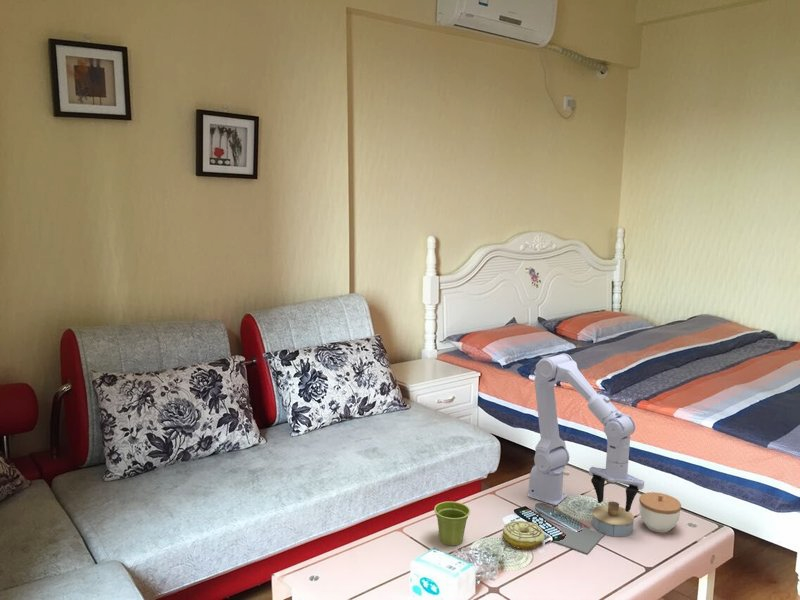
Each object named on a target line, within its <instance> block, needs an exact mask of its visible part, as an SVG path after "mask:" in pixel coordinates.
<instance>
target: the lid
mask: <svg viewBox="0 0 800 600" xmlns="http://www.w3.org/2000/svg"><path fill="white" fill-rule="evenodd" d="M591 511H592V513H591V514H592V517H593V516H594V517H595V518H596V519H597V520H599V521H601V522H603V523H606V524H610V525H617V526H623V525H628V524H631V523H632V522H633V523H634V521H635V515H634V514H633V512H632V511H631V510H629V512H626V511H625V507H621V506H620V503H619V502H617V501H613V500H611V501H608V503H607V504H602V505H598V506H597V505H596V506H595V507H594V508H593V509H592V510H591Z"/></svg>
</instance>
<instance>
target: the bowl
mask: <svg viewBox="0 0 800 600" xmlns="http://www.w3.org/2000/svg"><path fill="white" fill-rule="evenodd" d="M591 518H592V521H591V524H592V525H593V527H594V528H595V530H596V531H597V532H600V533H602V534H604V535H606V536H607V535H608V536H611V537H627V536H629V534H631V532H632V531H633V529H634V521H633V522H632V523H631V524H628V525H623V526H617V525H610V524H606V523H603V522H601V521H599V520H597V519H596V518H595V517H594V516H593V515H592V517H591Z"/></svg>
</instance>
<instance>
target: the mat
mask: <svg viewBox="0 0 800 600" xmlns="http://www.w3.org/2000/svg"><path fill="white" fill-rule="evenodd" d="M556 526H558V524H557V525H556ZM558 527H559V528H560V529H561V530H562V531H563V532H564V533H565V534H566V536H565V538H564V539H563V540H560V541H554V542H553V544H557V545H559V546H562V547H565V548H568V549H571V550H572V551H576V552H579V553H581V554H584V555H589V553H591V551H592V550H593V549H594V548H595V547H596V546H597V545H598V543H599V542H600V541H602V539H603V538H604V537H605V534H604V533H601V532H599V531H597V530H594V529H590V528H588V527H585V528H584V529H583V530H582V531H580V532H575V531H571V530H569V529H566V528H564V527H561V526H558Z"/></svg>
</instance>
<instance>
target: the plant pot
mask: <svg viewBox="0 0 800 600" xmlns="http://www.w3.org/2000/svg"><path fill="white" fill-rule="evenodd" d="M433 511H434V513H435V516H436V520H437V525H438V526H437V527H438V528H437V529H438V534H439V536H438V537H439V541H440V542H441V543H442V544H444V545H447V546H455V545H456V546H459V545H461V544H462V543H463V540H464V535H465V529H466V525H467V520H468V518H469V516H470V515H471V509H470V508H469V506H467V505H466V504H465V503H463V502H462V503H461V502H457V501H443V502H440V503H437V504H436V505H435V506H434V510H433Z"/></svg>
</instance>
